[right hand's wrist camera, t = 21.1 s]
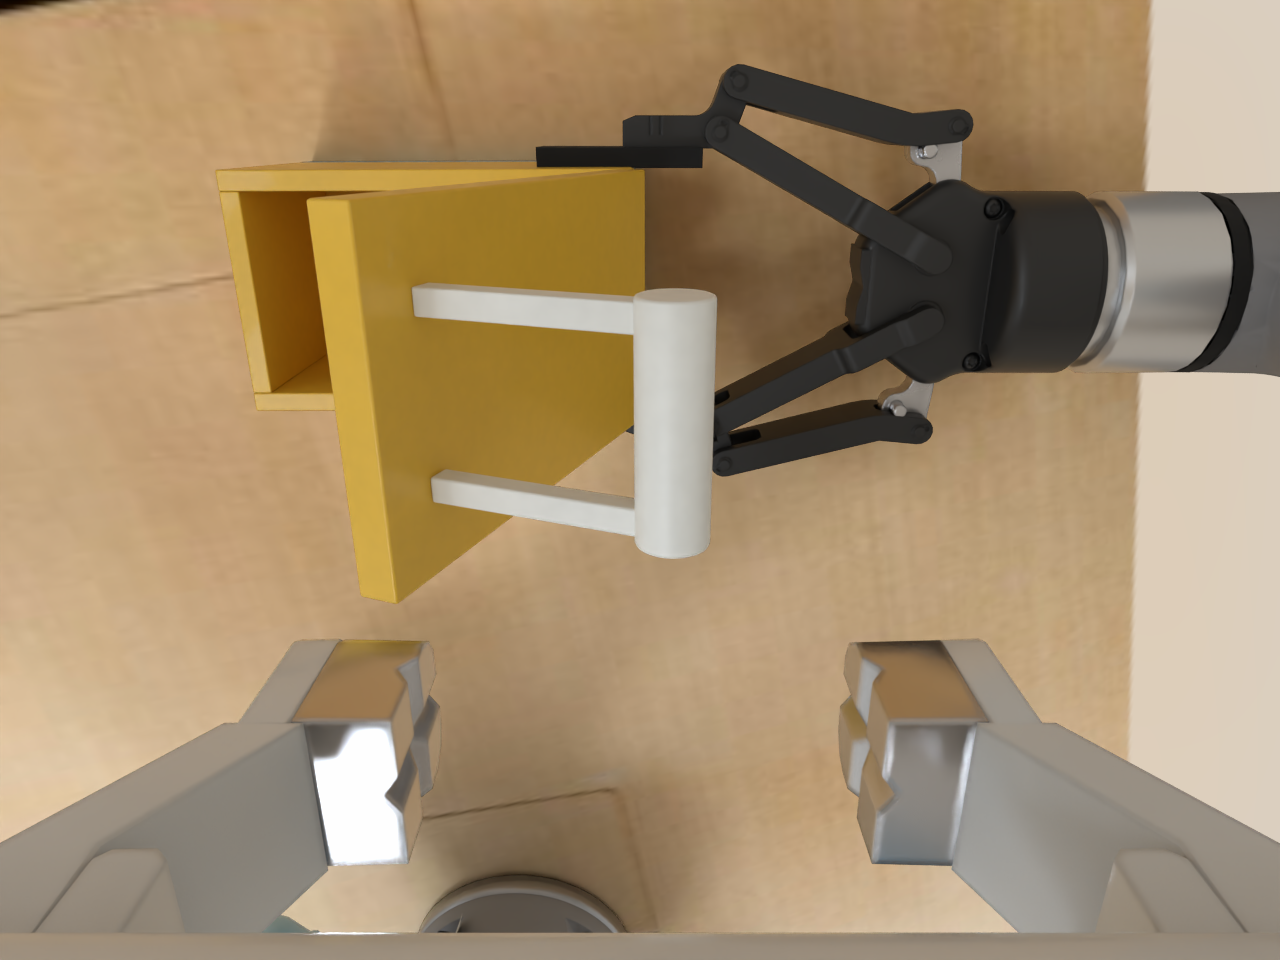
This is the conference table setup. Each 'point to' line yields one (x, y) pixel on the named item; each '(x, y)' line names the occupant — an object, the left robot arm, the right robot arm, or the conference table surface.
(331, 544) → the conference table surface
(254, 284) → the chest
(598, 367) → the lid
